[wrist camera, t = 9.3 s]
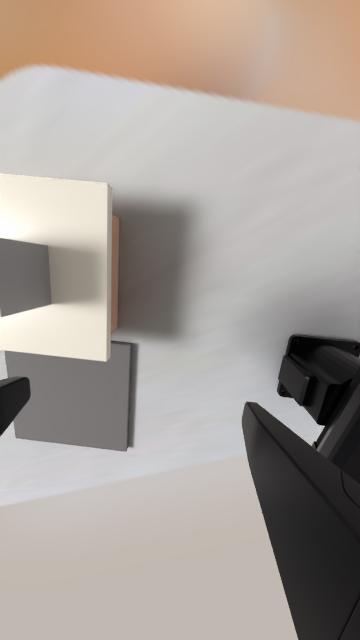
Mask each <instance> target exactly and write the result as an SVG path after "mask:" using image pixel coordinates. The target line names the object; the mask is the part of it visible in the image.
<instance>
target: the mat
mask: <svg viewBox="0 0 360 640" xmlns="http://www.w3.org/2000/svg"><path fill="white" fill-rule="evenodd" d="M131 350H132V343H124V342H115V341H111V345H110V358H109V359H108V360H107V362H105V361H96V360H87V359H78V358H69V357H60V356H51V355H42V354H33V353H24V352H15V351H6V350H5V358H6V365H7V373H8V378H10V377H14V376H25V377H28V378H29V380H30V390H31V396H30V399H29V401H28V402H27V403H26V405H25V406H24V407H23V408H22V410H21V411H20V412H19V414H18V415H17V416H16V417H15V419H14V428H15V436H16V438H20V439H28V440H36V441H44V442H52V443H60V444H68V445H77V446H85V447H93V448H101V449H109V450H117V451H127V448H128V429H129V403H130V376H131Z"/></svg>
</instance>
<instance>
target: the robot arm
mask: <svg viewBox="0 0 360 640" xmlns="http://www.w3.org/2000/svg"><path fill="white" fill-rule="evenodd" d="M294 339H297V341H296V342H294ZM355 345H356V346H355ZM354 346H355V348H353V347H354ZM359 354H360V343H359V342H357V341H351V340H341V339H332V338H322V337H313V336H303V335H292V336H291V337H290V338H289V342H288V346H287V350H286V354H285V356H283V360H282V364H281V368H280V373H279V377H278V379H279V384H278V388H277V392H278V394H279V395H280V396H282V397H289V398H294V399H295V401H296V402H297V403H298V404H299V405H300V406H303V407H304V408H305V409H306V410H307V412H308V413H309V414H310V415H311V416H312V418H313V419H314V420H315V421H316V423H317V424H318V425H323V426H325V427H324V429H323V431H322V432H321V434H320V436H319V438H318V439H317V441H316V442H314V443H313V444H312V446H310V445H309V444H308V443H307V442H305V441H304V440H303V439H302V438H300V437H299V436H298V435H297V434H295V433H294V432H293V431H292V430H290V429H289V428H288V427H286V426H285V425H284V424H283V423H281V422H280V421H279V420H278V419H276V418H275V417H274V416H273V415H271V414H270V413H269V412H267V411H266V410H265V409H264V408H262V407H261V406H260V405H259V404H257V403H255V402H246V403H245V406H244V411H243V416H242V428H243V434H244V440H245V445H246V451H247V457H248V462H249V466H250V470H251V474H252V478H253V481H254V485H255V488H256V492H257V495H258V499H259V502H260V506H261V509H262V513H263V516H264V520H265V523H266V527H267V531H268V534H269V538H270V541H271V545H272V548H273V552H274V555H275V559H276V562H277V566H278V569H279V573H280V577H281V580H282V583H283V587H284V590H285V594H286V598H287V601H288V605H289V608H290V611H291V615H292V619H293V622H294V626H295V630H296V633H297V637H298V640H360V358H358V357H359ZM283 390H285V391H284V392H281V391H283ZM30 396H31V390H30V380H29V378H28V377H25V376H14V377H10V378H7V379H3V380H0V436H1V435H2V434H3V433H4V431H5V430H6V429H7V428H8V426H9V425H10V424H11V422H12V421H13V420H14V419H15V417H16V416H17V415H18V414H19V412H20V411H21V410H22V408H23V407H24V406H25V405H26V403H27V402H28V401H29V399H30Z"/></svg>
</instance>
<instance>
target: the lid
mask: <svg viewBox="0 0 360 640" xmlns="http://www.w3.org/2000/svg"><path fill="white" fill-rule="evenodd" d="M111 258H112V187H111V186H110V185H109V184H108V183H102V182H91V181H79V180H68V179H56V178H45V177H34V176H22V175H11V174H0V350H6V351H15V352H24V353H33V354H42V355H51V356H60V357H69V358H78V359H87V360H96V361H105V362H107V360H108V359H109V358H110V345H111Z"/></svg>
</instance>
